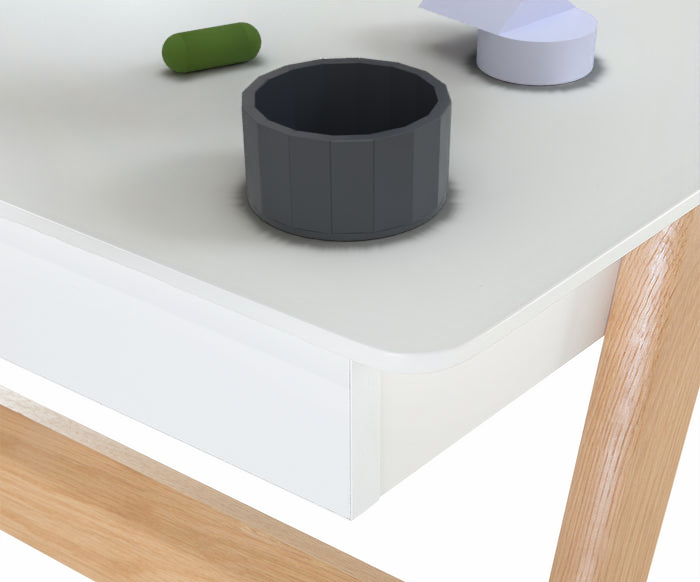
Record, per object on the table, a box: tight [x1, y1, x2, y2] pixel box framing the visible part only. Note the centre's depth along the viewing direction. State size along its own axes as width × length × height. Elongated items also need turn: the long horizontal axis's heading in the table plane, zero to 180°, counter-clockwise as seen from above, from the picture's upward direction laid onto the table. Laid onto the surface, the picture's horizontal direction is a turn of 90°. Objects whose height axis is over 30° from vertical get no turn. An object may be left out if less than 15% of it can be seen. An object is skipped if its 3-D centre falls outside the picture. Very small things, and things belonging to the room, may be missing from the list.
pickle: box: [161, 21, 262, 74], centre depth 95 cm, size 8×3×3 cm, turn 116°
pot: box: [240, 57, 453, 242], centre depth 77 cm, size 13×13×6 cm
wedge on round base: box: [418, 0, 598, 86], centre depth 95 cm, size 9×7×13 cm
